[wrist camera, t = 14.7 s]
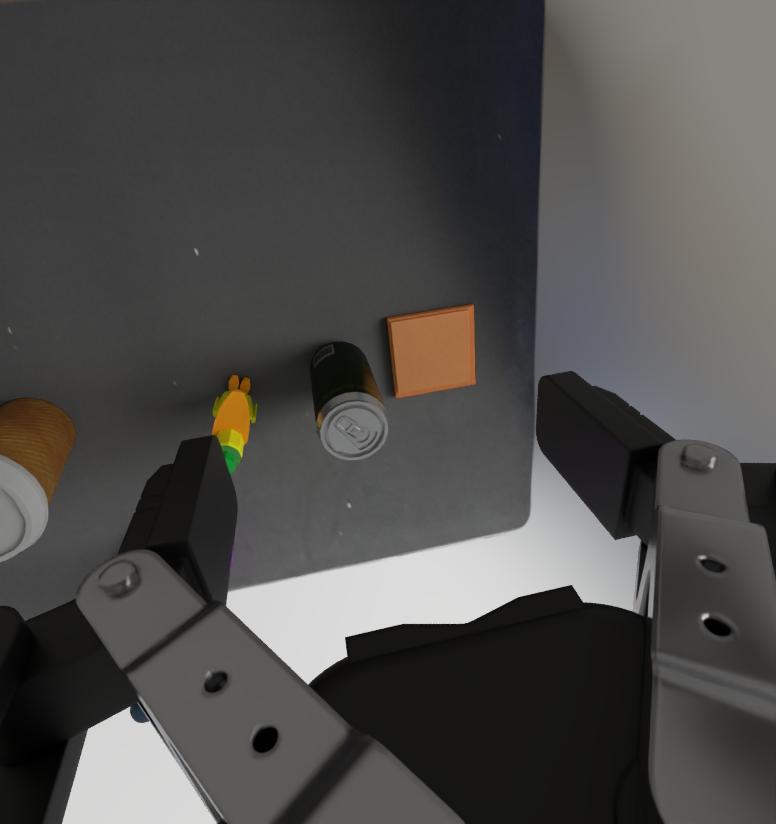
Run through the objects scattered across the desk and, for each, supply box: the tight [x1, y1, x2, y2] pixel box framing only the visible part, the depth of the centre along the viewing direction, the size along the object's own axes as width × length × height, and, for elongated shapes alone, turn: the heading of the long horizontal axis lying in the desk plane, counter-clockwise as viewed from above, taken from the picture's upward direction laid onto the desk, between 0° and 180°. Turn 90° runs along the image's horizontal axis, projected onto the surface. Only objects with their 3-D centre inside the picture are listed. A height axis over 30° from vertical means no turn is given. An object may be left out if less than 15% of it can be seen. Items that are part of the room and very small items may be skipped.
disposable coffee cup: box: [0, 398, 76, 562], centre depth 38 cm, size 10×10×12 cm
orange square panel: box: [387, 304, 475, 398], centre depth 46 cm, size 8×8×1 cm
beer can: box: [310, 342, 389, 460], centre depth 41 cm, size 5×5×12 cm
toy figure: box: [212, 375, 257, 474], centre depth 40 cm, size 7×4×12 cm, turn 163°
